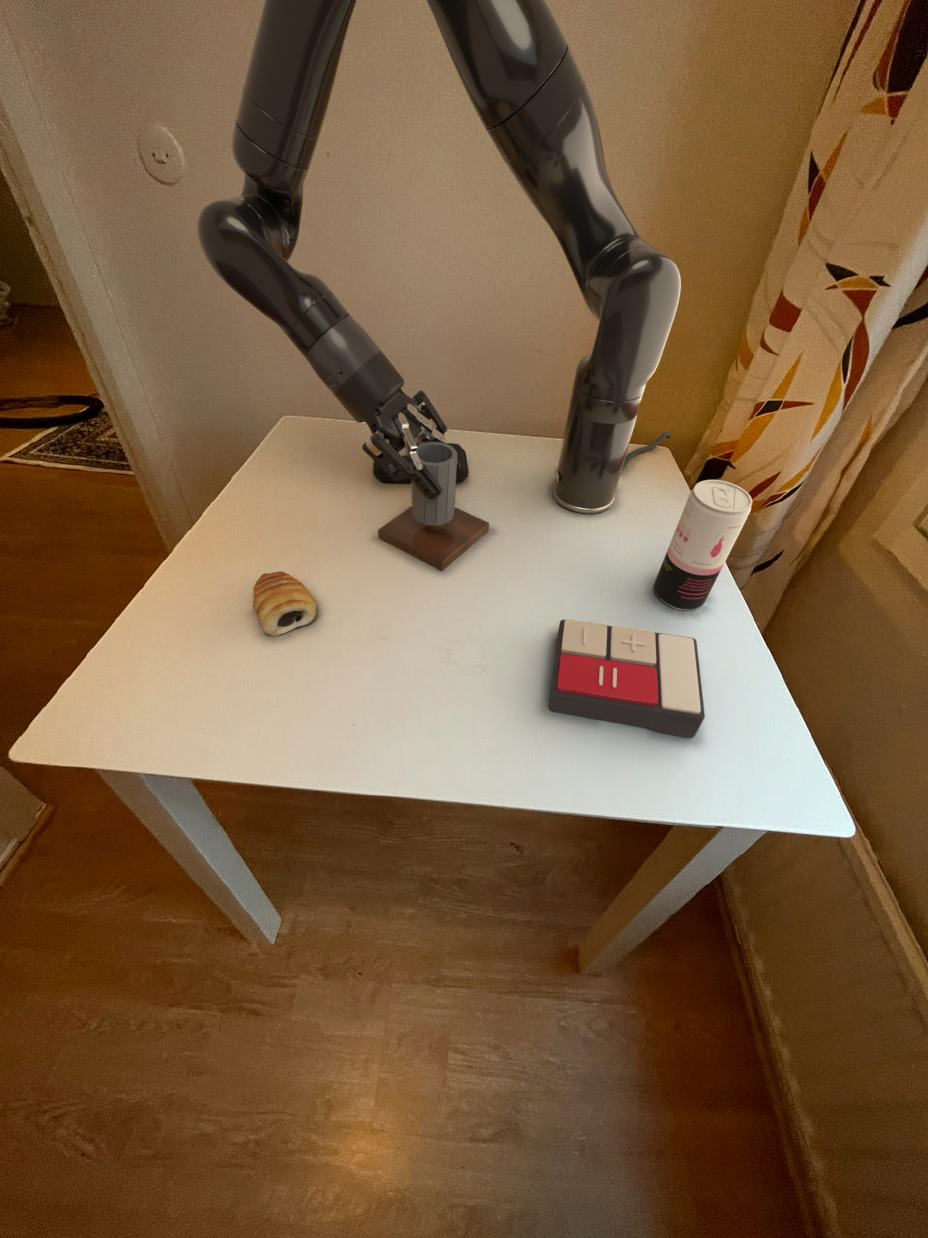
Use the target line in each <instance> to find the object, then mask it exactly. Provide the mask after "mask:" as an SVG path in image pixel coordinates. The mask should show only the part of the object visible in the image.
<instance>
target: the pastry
mask: <svg viewBox="0 0 928 1238" xmlns="http://www.w3.org/2000/svg"><path fill="white" fill-rule="evenodd" d="M252 596H253V601H252V610H253V611H254V613H255V614H256V616H257V619H258V621H259V623H260V626H261V630H262V632H263V633H265V634H267V635H269V636H272V637H278V636H280V635H283V634H286V633H288V632H290V631H292V630H294V629H296V628H298V627H303V626H305V625H309V624H310V623H311V622H312V621H313V620H315V617H316V614H317V602H316V600H315V599H314V597H313V595H312V594H311V592H310V591H309V589H308V588H307V587H306V586H305V585H304V583H302V582H300V581H299V579H297V578H294V577H293V576H291V575H290V574H289V573H287V572H285V571H273V572H271V573H269V572H268V573H262V574H261V575H260V577H259V578H258V579H256V581H255V584H254V585H253V593H252Z"/></svg>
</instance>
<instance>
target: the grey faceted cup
mask: <svg viewBox="0 0 928 1238" xmlns="http://www.w3.org/2000/svg"><path fill="white" fill-rule="evenodd" d="M445 443H446V442H445ZM445 443H442V442H425V443H421V444H419V445H417V451H416V452H417V454H418V457H419V459H420V461H421V463H422V465H423V468H424V467H425V468H426V469H427V470H428V471H429V473H430V474H431V475H432V476H433V477H434V479H435V480H436V481H437V482H438V484H439V485H440V486H441V487H442V489H443V491H442V493H441V494H440V495H439V496H437V497H436V498H434V499H433V500H430V499H428V498H427V497H426V496H424V495H423V493H422V492H421V491H420V489H418V487H417V486H416V485H415V484H414V483H413V481H412V480H411V484H410V486H411V506H412V515H413V517H414V518H415V520H416V521H418V522H420V523H422V524H424V525H430V526H438V525H443V524H446V523H448V522H449V521H450V520H452V519H453V517H454V508H455V507H456V506H455V505H456V485H457V484H456V468H457V452H456V450H455V449H454V448H453V447H452V446H450V445H448V444H445Z"/></svg>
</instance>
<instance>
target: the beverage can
mask: <svg viewBox="0 0 928 1238" xmlns="http://www.w3.org/2000/svg"><path fill="white" fill-rule="evenodd" d="M752 506H753V498H752V496H751V495H750V493H748V491H746V490H745V489H743V488H742V487H740V486H739V485H737V484H735V483H732V482H729V481H726V480H721V479H705V480H702V481H699V482H697V483H696V484H695V485H694V487H693V488H692V489H691V490H690V492H689V495H688V498H687V500H686V502H685V505H684V507H683V510H682V513H681V515H680V518H679V520H678V523H677V526H676V528H675V530H674V533H673V535H672V538H671V540H670V543H669V545H668V548H667V550H666V553H665V555H664V558H663V560H662V563H661V566H660V568H659V570H658V573H657V575H656V578H655V580H654V584H653V591H654V593H655V595H656V596H657V598H658V599H659V600H660V601H661V602H663V603H664V604H665V605H667V606H669V607H671V608H673V609H676V610H681V611H690V610H696V609H699V608H700V607H703V606H704V604H705V603H706V601H707V599H708V596H709V595H710V592H711V591H712V588H713V587H714V585H715V583H716V582H717V579H718V577H719V575H720V573H721V571H722V569H723V567H724V565H725V563H726V561H727V560H728V557H729V555H730V554H731V552H732V549H733V547H734V545H735V543H736V541H737V539H738V537H739V536H740V533H741V532H742V529H743V527H744V525H745V523H746V521H747V519H748V518H749V515H750V513H751V511H752Z"/></svg>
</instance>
